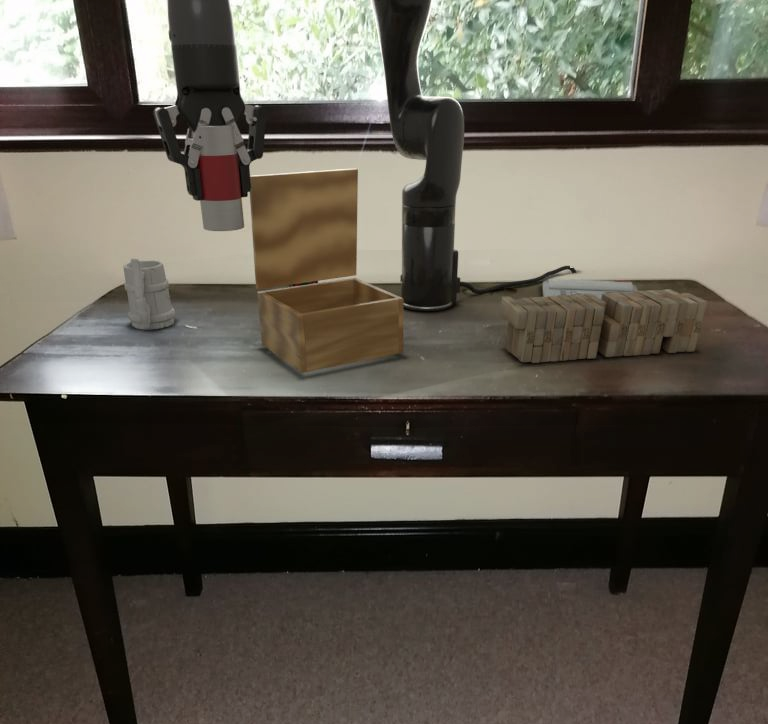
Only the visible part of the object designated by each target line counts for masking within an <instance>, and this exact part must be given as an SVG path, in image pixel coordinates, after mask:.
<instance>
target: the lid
mask: <svg viewBox="0 0 768 724" xmlns="http://www.w3.org/2000/svg"><path fill="white" fill-rule="evenodd" d="M358 178H359V169H358V168H355V167H354V168H339V169H327V170H312V171H298V172H297V171H296V172H283V173H281V172H280V173H268V174H254V175H250V180H251V190H250V192H249V202H250V215H251V216H250V217H251V218H250V219H251V233H252V247H253V248H252V249H253V263H254V264H253V265H254V278H255V279H254V280H255V288H256V289H257V290H263V289H270V288H277V287H285V286H288V285H292V284H299V283H306V282H313V281H318V282H319V281H327V280H334V279H341V278H349V277H355V276H357V261H358V259H357V258H358V256H357V255H358V200H359V199H358V197H359V196H358V195H359V193H358V191H359V189H358V188H359V179H358Z"/></svg>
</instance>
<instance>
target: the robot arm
mask: <svg viewBox="0 0 768 724" xmlns="http://www.w3.org/2000/svg"><path fill="white" fill-rule="evenodd" d="M370 4H371V8H372V12H373V17H374V21H375V27H376V32H377V37H378V43H379V49H380V54H381V60H382V67H383V72H384V81H385V90H386V99H387V100H386V101H387V108H388V117H389V118H388V119H389V125H390V132H391V136H392V141H393V143H394V145H395V148H396V150H397V151H398V153H399V154H400V155H401V156H402V157H404V158H406V159H410V160H419V161H425V168H424V173H423V175H422V176H421V177H420V178H419V179H417V180H415V181H413V182H410V183H408V184H406V185H405V186H403V188H402V190H401V191H402V192H401V274H400V277H399V278H400V284H401V295H400V297H402V298H403V299H404V304H403V309H407V310H411V311H417V312H437V311H443V310H447V309H449V308H451V307H452V306H457V296H458V295H457V294H459V293H461V287H462V288H463V287H464V288H467V289H468V290H469V291H470V292H472V293H473V294H486V293H490V292H494V291H497V290H500V289H504V288H509V287H516V286H524V285H529V284H534V283H538V282H541V281H542V280H543V281H544V280H545V279H546V278H548V277H550V276H553V275H557V274H558V273H561V272H563V271H567V270H568V271H570V272H571V273H577V270H576V268H575V267H573V268H570V266H571V265H563V266H560V267H558V268H555V269H553V270H549V271H547V272H545V273H543V274H542V275H539V276H538V277H534V278H529V279H524V280H516V281H509V282H504V283H500V284H496V285H493V286H490V287H487V288H476V287H474V286H473V285H472V284H471V283H468V282H465V281H461V277H459V275H458V273H459V272H458V271H459V250H457V249H456V248H455V233H456V232H455V230H456V206H457V205H456V204H457V194H458V190H459V188H460V184H461V178H462V165H463V152H464V143H465V116H464V111H463V108H462V106H461V104H460V103H459V101H458V100H456V99H455V98H454V97H450V96H424V95H423V92H422V88H421V87H422V86H421V81H420V73H419V54H420V49H421V45H422V41H423V38H424V35H425V32H426V29H427V26H428V22H429V19H430V14H431V11H432V7H433V0H370ZM166 9H167V10H166V11H167V12H166V13H167V14H166V15H167V17H166V18H167V24H168V25H167V26H168V32H167V33H168V39H169V42H170V48H171V56H172V63H173V71H174V79H175V85H176V87H175V88H176V100H175V102H174V105H171V106H167V107H166V106H165V107H155V108H154V109H153V112H152V115H153V117H154V120H155V124H156V127H157V130H158V133H159V136H160V139H161V142H162V146H163V149H164V151H165V155H166V157H167V160H168V161H170V162H172V163H175V164H177V165H180V166H182V167H183V170H184V177H185V185H186V191H187V193H188V195H189V196H192V199H193V200H194V201H196V202H197V201H198V202H200V200H203V193H202V185H201V177H200V169H199V168H197V164H198V160H199V156H200V150H201V149H202V148H203V141H202V132H201V126H208V125H233V127H234V138H235V145H236V149H237V154H238V164H239V175H240V185H241V195H242V198H247V197H248V196H249V194H248V193H250V190H251V180H250V176H251V170H250V166H251V163H253V162H254V161H256V160H260V159H262V158H263V157H264V150H265V149H264V147H265V136H266V126H267V125H266V124H267V108H266V107H265V106H263V105H262V106H261V105H251V104H247V103H245V101H244V100H243V97H242V95H241V83H240V74H239V73H240V71H239V62H238V61H239V60H238V51H237V39H236V30H235V20H234V15H233V8H232V4H231V0H166ZM243 115H245V120H246V123H247V124H248V125H249V126H248V137H247V138H248V139H247V148H246V145H245V141H244V138H243V136H242V134H241V132H240V131H241V130H240V129H239V127H238V126H239V124H240V122H241V120H242V118H243ZM178 116H179V118H180V119H181V120H182V122H183V123H184V124H185V125H186V127H187V132H186V135H185V140H184V149H183V153H182V151H181V148H180V144H179V141H178V138H177V134H176V132H175V127H176V126H177V117H178ZM192 131H193V132H195V134H194V137H193V139H192ZM199 136H200V137H201V138H199Z"/></svg>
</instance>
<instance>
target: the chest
mask: <svg viewBox="0 0 768 724" xmlns="http://www.w3.org/2000/svg"><path fill="white" fill-rule="evenodd" d="M256 294H257V304H258V313H259V324H260V335H261V344H262V346H264V347H265V348H266V349H268V350H269V351H270V352H272V353H273V354H274V355H276V356H278V357H279V358H280V359H281V360H283V361H284V362H285V363H288V365H290V366H292V367H293V368H295V369H296V370H297V371H299V372H300V373H301V374H302V373H304V374H305V373H309V372H313V371H319V370H324V369H328V368H334V367H339V366H344V365H349V364H353V363H359V362H364V361H368V360H369V361H370V360H373V359H379V358H383V357H389V356H393V355H399V354H403V353H404V307H403V304H404V299H403V298H402V296H400V295H397V294H395V293H393V292H390V291H388V290H385V289H383V288H380V287H378V286H375V285H373V284H371V283H369V282H366V281H364V280H362V279H360V278H357V277H351V278H344V279H338V280H337V279H336V280H330V281H322V282H318V283H315V284H309V285H302V286H295V287H289V286H288V287H282V288H274V289H268V290H261V291H257V293H256Z"/></svg>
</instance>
